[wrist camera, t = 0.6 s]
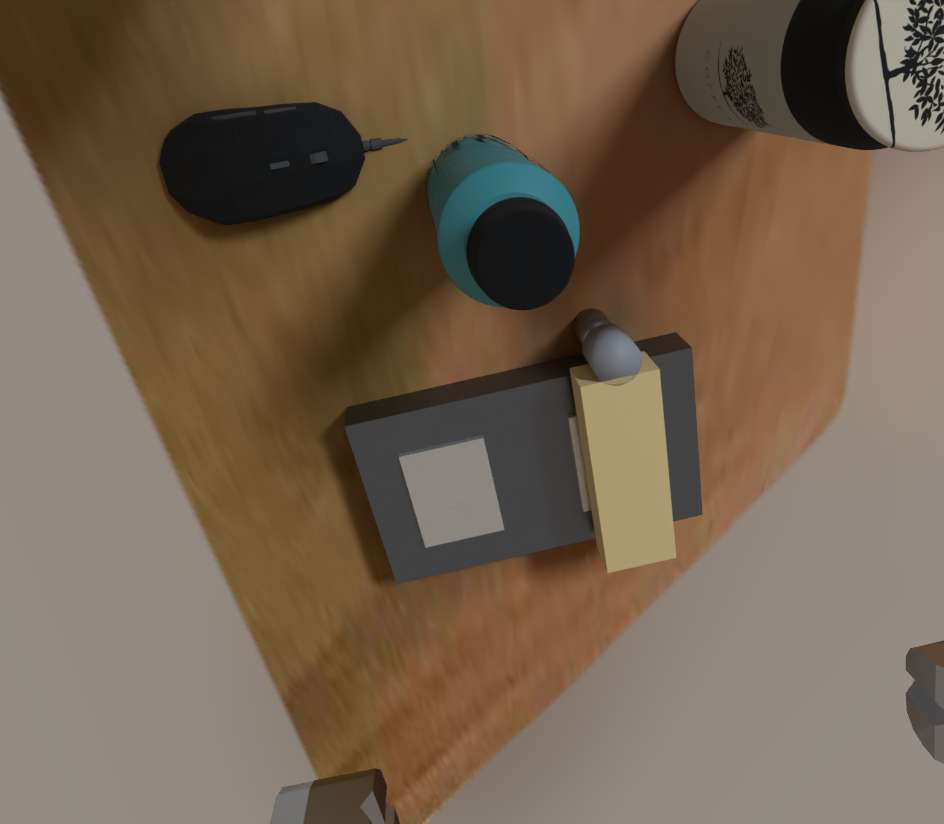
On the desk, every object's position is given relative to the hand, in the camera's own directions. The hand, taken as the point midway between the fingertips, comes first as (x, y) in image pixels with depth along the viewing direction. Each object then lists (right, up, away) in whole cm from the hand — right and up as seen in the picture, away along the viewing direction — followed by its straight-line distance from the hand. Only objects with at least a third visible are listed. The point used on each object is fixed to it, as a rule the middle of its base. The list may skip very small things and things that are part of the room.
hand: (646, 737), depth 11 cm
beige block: (+7, +3, +38) cm, 39 cm away
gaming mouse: (-14, +21, +32) cm, 40 cm away
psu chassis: (+1, +3, +41) cm, 42 cm away
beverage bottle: (-2, +19, +33) cm, 39 cm away
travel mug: (+13, +27, +31) cm, 43 cm away
